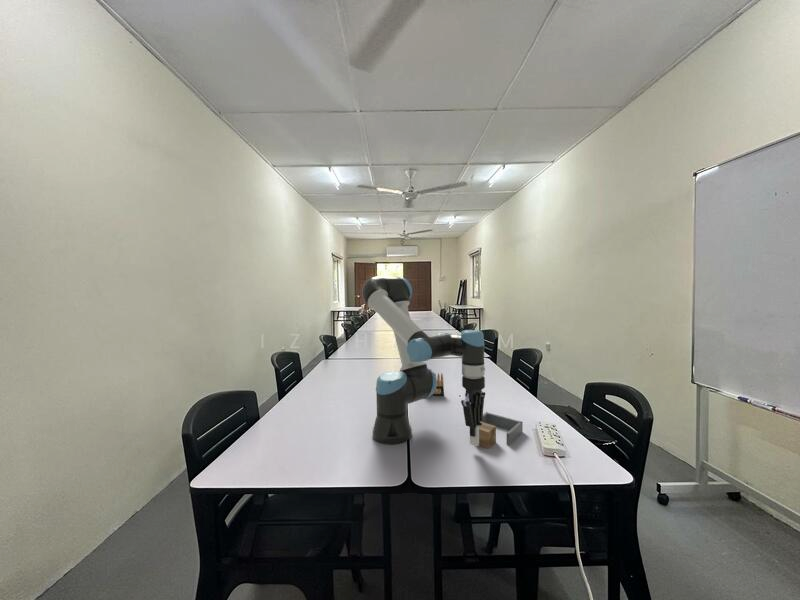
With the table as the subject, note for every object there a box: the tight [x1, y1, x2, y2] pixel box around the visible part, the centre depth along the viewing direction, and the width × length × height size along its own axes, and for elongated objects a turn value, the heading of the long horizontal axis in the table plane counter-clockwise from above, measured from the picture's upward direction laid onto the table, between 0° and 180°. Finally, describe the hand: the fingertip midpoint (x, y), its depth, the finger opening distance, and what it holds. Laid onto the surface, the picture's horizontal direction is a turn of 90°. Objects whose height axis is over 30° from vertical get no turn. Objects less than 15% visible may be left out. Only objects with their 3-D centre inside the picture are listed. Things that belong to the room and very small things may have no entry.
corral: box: [480, 411, 524, 446], centre depth 118 cm, size 13×15×4 cm
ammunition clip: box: [430, 372, 445, 397], centre depth 160 cm, size 11×2×12 cm, turn 90°
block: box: [478, 422, 497, 450], centre depth 110 cm, size 6×6×6 cm
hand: (474, 444), depth 104 cm, fingers closed
